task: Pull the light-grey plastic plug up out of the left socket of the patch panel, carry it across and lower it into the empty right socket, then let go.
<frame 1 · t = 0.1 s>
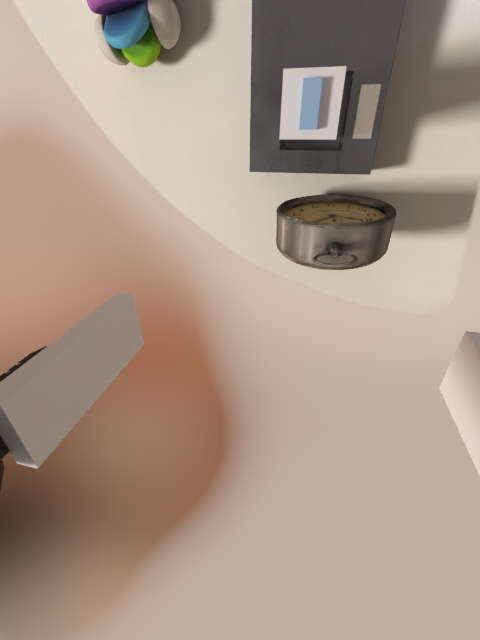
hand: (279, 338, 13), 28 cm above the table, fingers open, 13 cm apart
alarm clock: (329, 216, 36), on the table
plug: (314, 115, 31), point 1 cm above the table, touching panel
rainbow petal toy: (142, 9, 30), on the table
panel: (323, 37, 28), on the table
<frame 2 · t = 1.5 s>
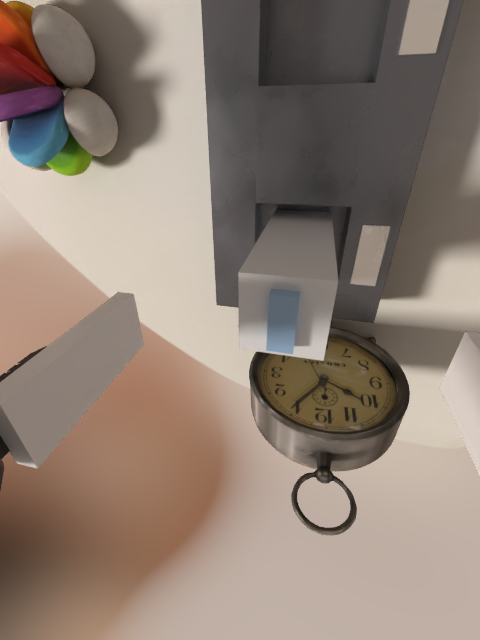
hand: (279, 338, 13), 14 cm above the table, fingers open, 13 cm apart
alarm clock: (322, 342, 29), on the table
plug: (300, 237, 23), point 1 cm above the table, touching panel
rainbow petal toy: (68, 101, 23), on the table
panel: (310, 147, 20), on the table
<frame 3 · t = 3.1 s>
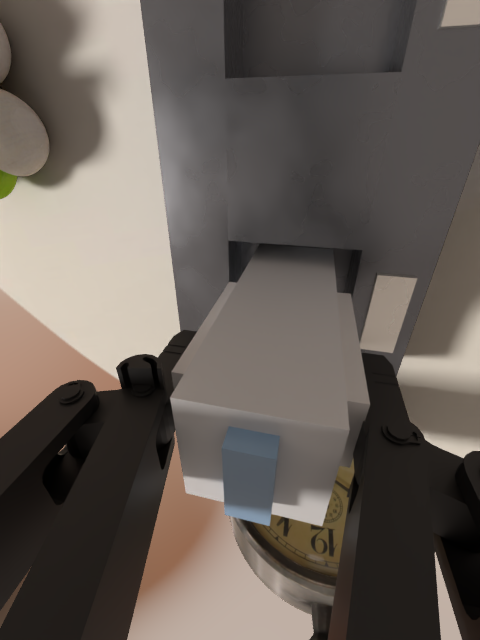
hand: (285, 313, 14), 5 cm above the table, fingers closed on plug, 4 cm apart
alarm clock: (321, 400, 23), on the table
plug: (292, 280, 18), point 1 cm above the table, touching gripper, panel
panel: (304, 164, 15), on the table
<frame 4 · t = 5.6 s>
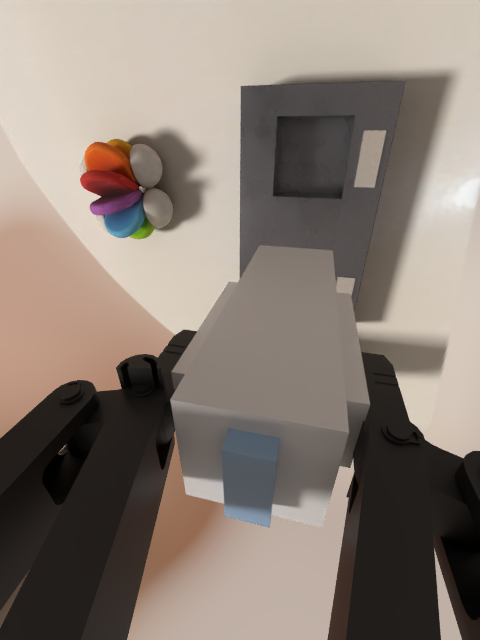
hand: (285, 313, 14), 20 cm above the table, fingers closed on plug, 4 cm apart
plug: (292, 281, 18), point 16 cm above the table, touching gripper
rainbow petal toy: (138, 189, 34), on the table
panel: (304, 223, 31), on the table
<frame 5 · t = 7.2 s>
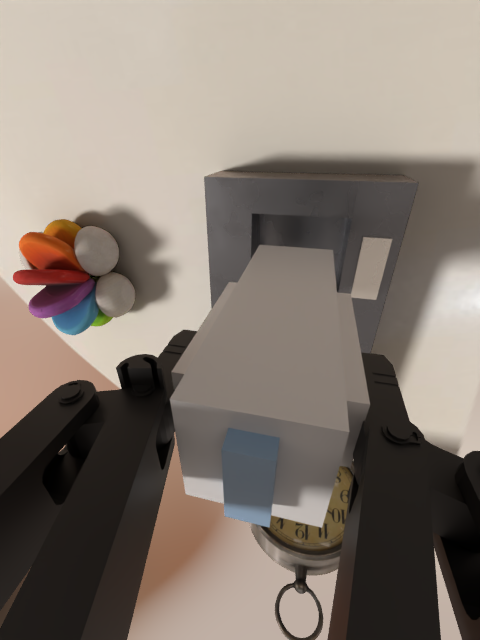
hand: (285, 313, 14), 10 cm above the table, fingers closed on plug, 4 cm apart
alarm clock: (306, 439, 34), on the table
plug: (292, 280, 18), point 6 cm above the table, touching gripper
rainbow petal toy: (95, 267, 29), on the table
panel: (292, 314, 26), on the table
when the fingers open (6 cm above the table, at t = 8.3 s): plug drops 1 cm, resting on panel.
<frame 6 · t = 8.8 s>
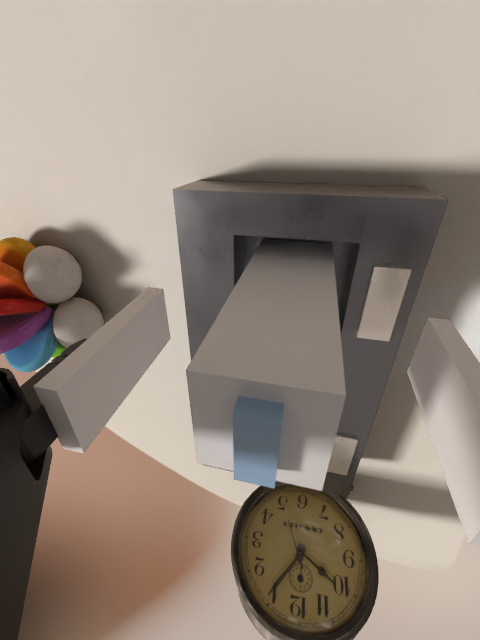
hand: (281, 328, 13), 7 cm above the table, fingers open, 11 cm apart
alarm clock: (304, 479, 30), on the table
plug: (293, 273, 18), point 1 cm above the table, touching panel
rainbow petal toy: (59, 289, 25), on the table
panel: (286, 346, 22), on the table
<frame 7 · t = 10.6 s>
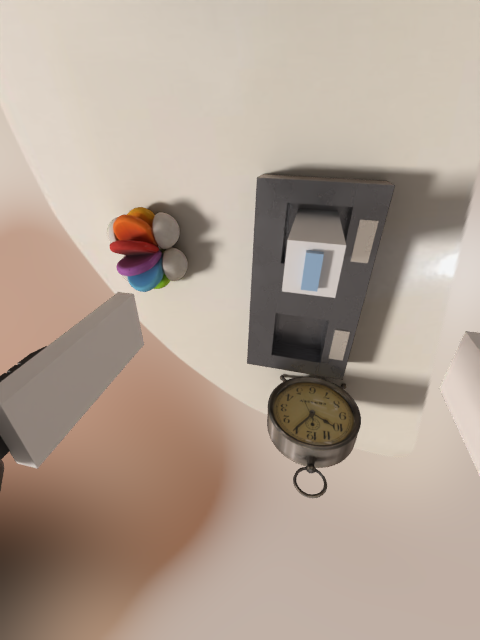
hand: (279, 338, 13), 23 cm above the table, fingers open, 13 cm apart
alarm clock: (312, 384, 43), on the table
plug: (314, 229, 32), point 1 cm above the table, touching panel
rainbow petal toy: (157, 244, 38), on the table
panel: (307, 280, 36), on the table
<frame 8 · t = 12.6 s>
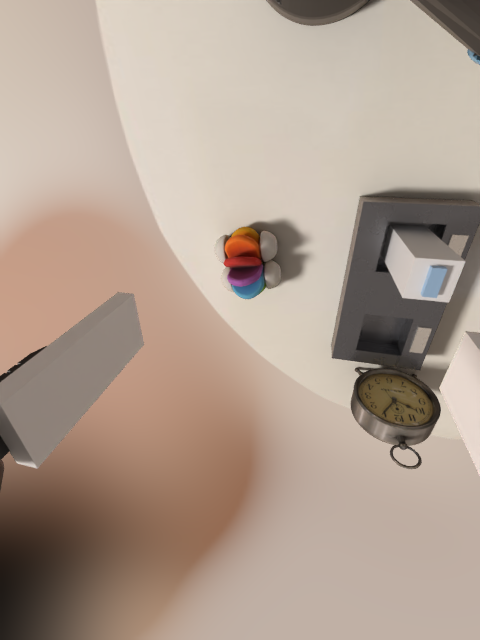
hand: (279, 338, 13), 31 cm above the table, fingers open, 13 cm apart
alarm clock: (383, 375, 49), on the table
plug: (403, 242, 37), point 1 cm above the table, touching panel
rainbow petal toy: (251, 257, 44), on the table
panel: (389, 284, 41), on the table
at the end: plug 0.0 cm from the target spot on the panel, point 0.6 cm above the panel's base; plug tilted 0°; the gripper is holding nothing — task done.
